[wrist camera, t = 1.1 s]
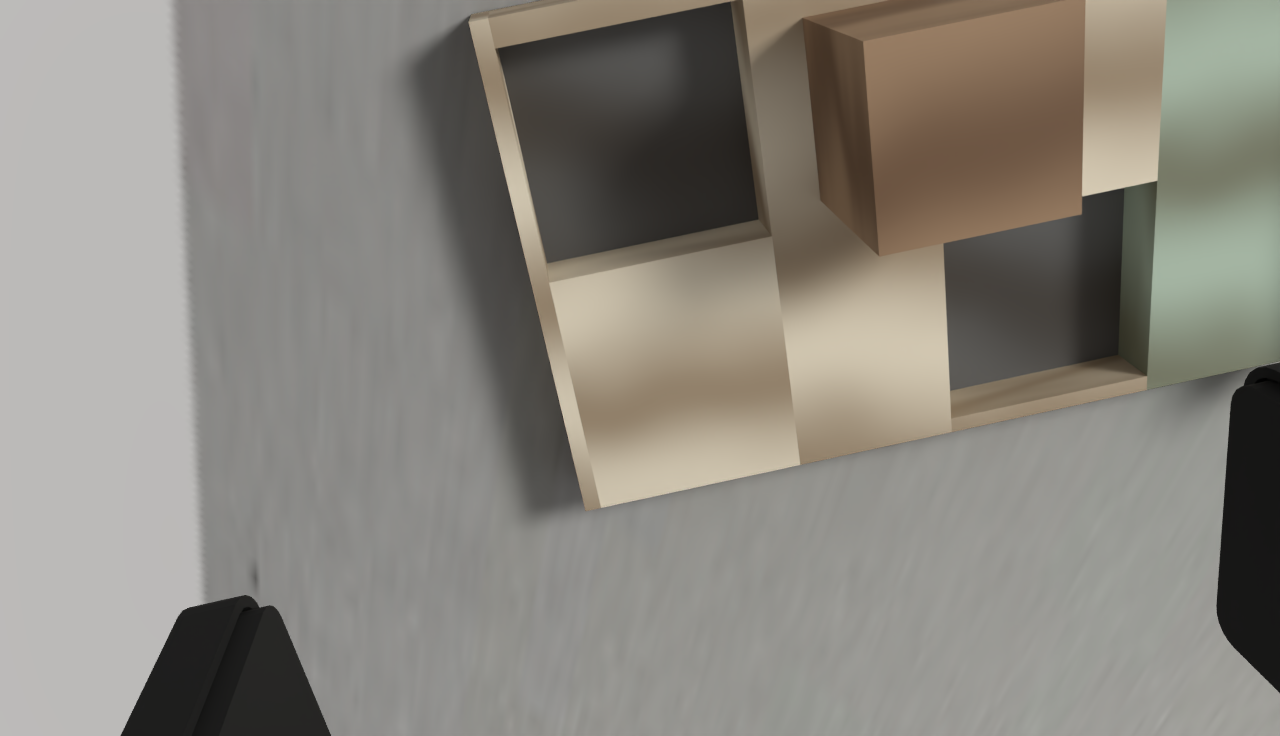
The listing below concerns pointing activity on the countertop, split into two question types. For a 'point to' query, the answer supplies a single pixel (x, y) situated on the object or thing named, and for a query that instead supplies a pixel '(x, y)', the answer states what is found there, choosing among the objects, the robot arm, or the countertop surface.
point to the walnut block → (947, 116)
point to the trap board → (840, 261)
